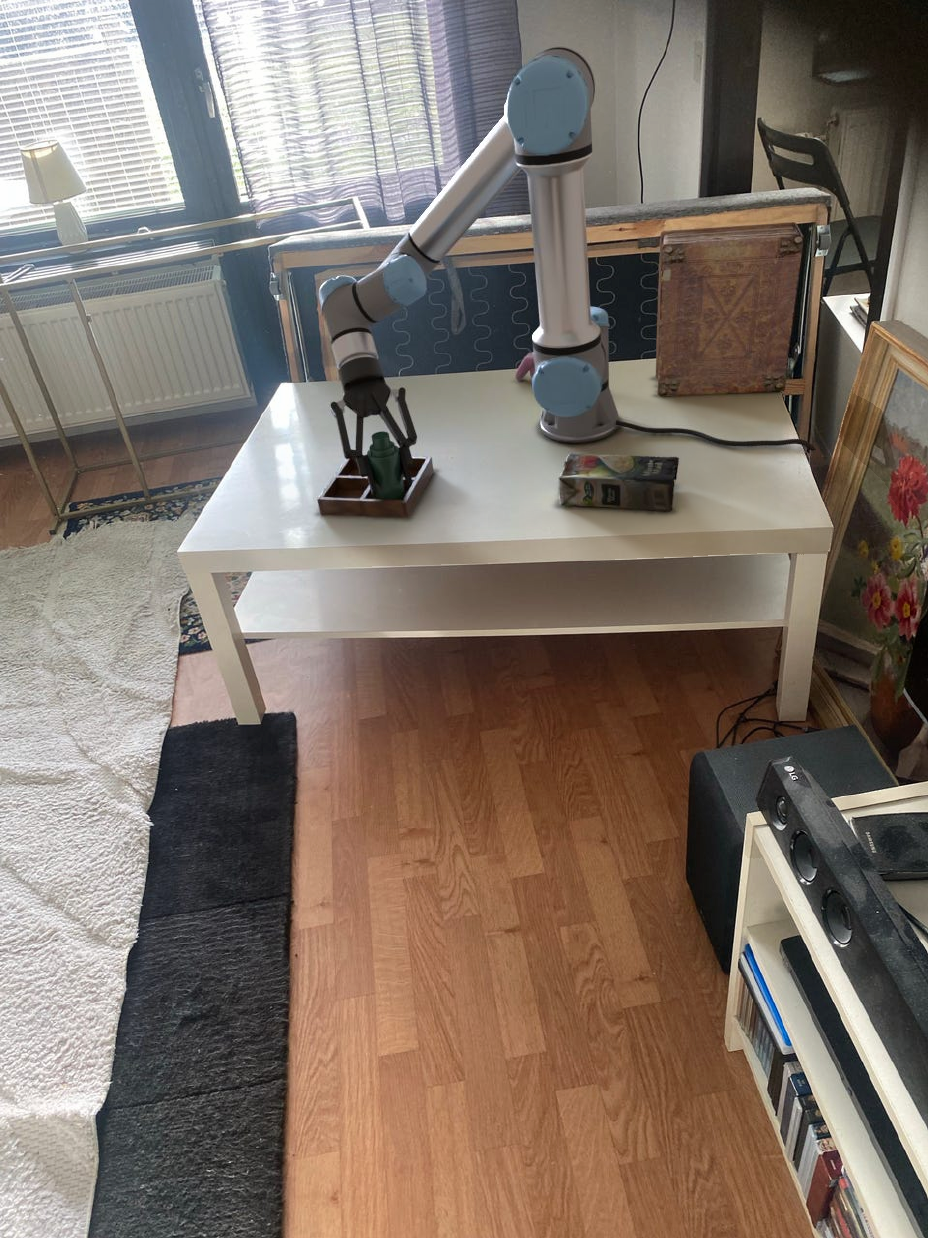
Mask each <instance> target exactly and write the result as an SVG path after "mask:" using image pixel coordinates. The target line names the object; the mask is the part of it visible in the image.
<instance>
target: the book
mask: <svg viewBox="0 0 928 1238" xmlns="http://www.w3.org/2000/svg"><path fill="white" fill-rule="evenodd" d="M804 237H805V236H804V235H803V233H802V231H801V229H800V227H799V226H798V224H797V223H796V222H795V221H794V222H793V221H792V222H779V223H778V222H775V223H765V224H764V223H761V224H745V225H744V224H743V225H729V226H716V227H714V226H713V227H702V228H700V227H699V228H686V229H685V228H684V229H670V230H669V229H668V230H662V231H660V237H659V238H660V239H659V261H658V263H659V266H658V267H659V268H658V290H657V291H658V292H657V293H658V294H657V319H656V321H657V323H656V327H657V328H656V351H655V352H656V353H655V354H656V355H655V379H656V380H657V396H659V397H674V396H698V395H721V394H722V395H723V394H724V395H725V394H744V393H745V394H746V393H769V392H773V393H774V392H785V390H786V385H787V376H788V370H789V369H788V368H789V360H790V352H791V344H792V343H791V342H792V334H793V327H794V319H795V312H796V302H797V295H798V294H797V293H798V287H799V279H800V269H801V261H802V254H803V246H804V245H803V244H804Z"/></svg>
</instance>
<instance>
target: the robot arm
mask: <svg viewBox="0 0 928 1238" xmlns="http://www.w3.org/2000/svg"><path fill="white" fill-rule="evenodd" d="M595 94H596V81H595V76H594V73H593V69H592V67H591V65H590V63H589V62H588V60H587V59H586V58H585V57H584V56H583V55H582V54H581V53H580V52H578V51H576V50H574V49H573V48H569V47H566V46H554V47H553V46H552V47H550V48H546V49H544V50H542V51H540V52H539V53H537V54H536V55H535V56H534V57H533V58H532V59H530V60H529V61H528V62H527V63H525V64H524V65H523V66H522V67H521V68H520V69H519V70H518V72H517V73H516V74H515V76H514V78H513V80H512V81H511V83H510V86H509V89H508V92H507V98H506V102H505V104H504V106H503V107H504V115H503V116H502V118H500V120H498V122H497V123H496V125H494V127H493V128H492V129H491V131H490V132H489V133H488V134H487V136H486V137H485V138H484V139H483V140H482V142H481V143H480V144H479V145H478V146H477V148H476V149H475V150H474V151H473V153H472V154H471V155H470V156H469V158H468V159H467V160H466V161H465V162H464V164H463V165H462V166H461V167H460V168H459V170H458V171H457V172H456V173H455V175H454V176H453V177H452V178H451V180H450V181H449V182H448V183H447V184H446V185H445V187H444V188H443V189H442V190H441V192H440V193H439V194H438V195H437V197H435V199H434V200H433V201H432V203H431V204H430V205H429V206H428V207H427V209H426V210H425V211H424V212H423V213H422V215H421V216H420V217H419V218H418V219H417V221H416V222H415V223H414V225H412V227H411V228H410V230H409V231H408V232H407V233H406V234H405V235H404V236H403V238H402V239H401V240H400V241H399V242H398V243H397V244H396V246H395V247H394V248H393V250H392V251H391V252H390V253H389V255H388V256H386V258H385V259H384V261H383V262H381V264H380V265H379V266H378V267H377V269H375V270H373V271H372V272H371V273H368V274H367V275H365V276H364V277H362V278H361V279H359V280H357V279H355V278H354V277H352V276H349V275H338V276H337V277H331V278H329V279H327V280H325V281H324V282H323V283H322V284H321V286H319V290H318V299H319V303H320V312H321V316H322V317H323V320H324V323H325V327H326V330H327V333H328V337H329V341H330V345H331V349H332V353H333V358H334V362H335V365H336V368H337V369H338V377H339V379H340V383H341V387H342V391H343V395H342V398H341V399H340V400H338V401H332V402H330V412H331V414H332V415H333V417H334V419H335V421H336V424H337V425H336V426H337V429H338V434H339V439H340V443H341V448H342V452H343V457H344V459H345V460H346V459H354V460H356V462H357V465H358V469H359V473H360V475H361V477H366V476H367V478H368V482H369V486H370V489H371V493H372V496H373V495H376V493H377V489H376V485H375V481H374V478H373V474H372V470H371V466H370V463H369V459H368V455H367V454H363V452H364V451H363V447H364V446H363V445H364V420H365V418H369V417H370V416H379V417H380V419H381V420H382V421H383V422H384V424H385V426H386V427H387V429H388V431H389V432H390V434H391V435H392V437H393V439H394V440H395V442H396V444H397V446H398V448H399V452H400V458H401V464H402V470H403V474H404V478H405V481H406V485H407V488H408V487H411V486H412V478H411V475H410V471H409V468H408V467H411V466H412V463H413V459H412V457H413V456H412V451H411V447H413V446H415V445H416V444H417V441H418V435H417V431H416V429H415V426H414V422H413V419H412V415H411V414H410V410H409V406H408V404H407V401H406V390H407V389H406V388H405V387H403V386H402V387H399V388H398V389H396V388H391V387H390V386H389V385H388V384H387V382H386V380H385V375H384V371H383V368H382V364H381V361H380V360H379V354H378V351H377V348H376V344H375V340H374V336H373V332H372V325H374V324H377V323H379V322H380V321H381V320H383V319H385V318H387V317H389V316H391V315H393V314H395V313H397V312H399V311H400V310H402V309H404V308H407V307H408V306H409V307H410V306H412V305H414V303H415V302H416V301H418V300H419V299H421V298H422V297H424V296H425V294H426V293H427V291H428V287H427V284H428V281H427V278H428V276H429V275H430V274H431V273H432V272H433V271H434V270H435V268H436V267H437V266H438V265H439V264H440V262H441V261H442V260H443V259H444V258H445V257H446V256H447V254H448V253H449V252H450V251H451V250H452V248H454V246H455V245H456V244H457V243H458V242H459V241H460V239H461V238H462V237H463V236H464V235H465V234H466V232H467V231H469V229H470V228H471V227H472V226H473V225H474V224H475V222H476V221H477V220H478V219H479V218H480V217H481V216H482V214H483V213H485V211H486V210H487V209H488V207H489V206H491V204H492V203H493V202H494V201H495V200H496V198H497V197H498V196H499V195H500V194H501V193H502V192H503V190H504V189H505V188H506V187H507V186H508V185H509V184H510V183H511V181H512V180H513V179H514V178H515V177H516V176H517V175H518V173H520V171H521V170H522V171H523V172H524V173H525V174H526V176H527V186H528V187H527V189H528V199H529V211H530V223H531V224H530V225H531V234H532V243H533V244H532V246H533V258H534V269H535V280H536V293H537V303H538V314H539V316H538V317H539V326H538V327H537V329H536V330H535V331H534V332H533V334H532V337H531V338H532V350H533V351H532V352H534V362H535V372H534V375H533V377H531V378H532V379H531V387H532V394H533V397H534V399H535V401H536V402H537V404H538V406H540V407H541V414H540V430H541V432H542V434H543V435H544V436H545V437H547V438H549V439H551V440H553V441H555V442H559V443H566V444H585V443H591V442H592V443H593V442H596V441H600V440H602V439H605V438H607V437H610V436H611V435H612V434H614V433H615V432H616V431H617V430H618V428H619V427H623V428H627V429H631V430H634V431H638V432H642V433H649V434H683V435H689V436H694V437H697V438H700V439H703V440H705V441H708V442H710V443H713V444H716V445H721V446H728V447H761V446H763V447H764V446H765V447H767V446H769V447H771V446H772V447H777V446H778V447H779V446H788V445H799V446H803V447H805V448H807V449H808V450H809V451H812V452H814V451H816V450H817V449H816V447H815V446H814V445H813V444H812V443H810V441H807V440H804V439H802V438H801V439H800V438H786V439H779V440H744V441H743V440H742V441H741V440H740V441H739V440H726V439H722V438H717V437H715V436H711V435H709V434H706V433H704V432H700V431H698V430H695V429H689V428H681V427H660V428H659V427H647V426H641V425H637V424H634V423H631V422H627V421H622V420H619V419H620V418H619V412H618V409H617V406H616V403H615V400H614V397H613V395H612V392H611V389H610V366H609V365H610V364H609V363H610V362H609V361H610V358H609V355H610V354H609V353H610V352H609V351H610V349H609V347H610V346H609V342H610V341H609V338H610V337H609V328H610V326H611V325H610V322H609V314H608V312H607V311H606V310H605V309H603V308H600V307H597V306H591V294H590V275H589V272H590V271H589V256H588V236H587V234H588V233H587V217H586V216H587V215H586V214H587V213H586V199H585V179H584V178H585V177H584V166H585V164H586V163H587V162H588V161H589V160H590V158H591V156H592V155H593V139H592V138H593V135H592V111H591V110H592V107H593V103H594V102H595V96H596V95H595ZM390 397H391V398H392V399H393V402H394V403H397V407H398V412H399V414H400V418H401V421H402V424H403V426H404V430H405V433H406V436H407V437H406V436H405V435H404V433H403V431H402V429H401V427H400V426H399V424H398V423H397V421H396V419H395V418H394V417H393V415H392V413H391V412H390V409H389V407H388V405H387V404H388V401H389V399H390ZM345 407H347V408H348V409H349V410H350V411H352V412H353V413H354V414H356V422H355V423H356V425H355V449H352V448H351V444H350V437H349V435H348V434H349V433H348V428H347V425H346V420H345V417H344V414H345V412H346V411H345V410H346V409H345Z"/></svg>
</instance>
